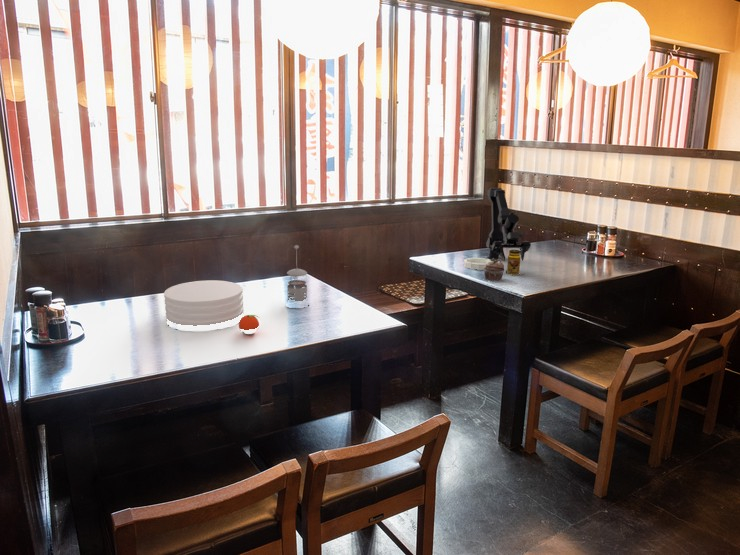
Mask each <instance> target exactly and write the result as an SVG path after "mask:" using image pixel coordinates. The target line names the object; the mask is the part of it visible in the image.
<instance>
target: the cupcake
mask: <svg viewBox="0 0 740 555" xmlns="http://www.w3.org/2000/svg"><path fill="white" fill-rule="evenodd" d="M483 271H484V279H485V278H486V280H487V279H488V280H487V281H494V280H497V281H501V280H502V279H503V277H504V276H503V275H504V273H503V272H504V271H505V265H504V263H503V262H502V258H500V259H494V258H493V259H490V262H489V263H487V264H486V267H485V268H484V270H483Z"/></svg>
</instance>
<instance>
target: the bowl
mask: <svg viewBox="0 0 740 555" xmlns="http://www.w3.org/2000/svg"><path fill="white" fill-rule="evenodd" d="M490 260H491V259H488V258H487V257H485V258H484V257H468V258H465V259H464V260H463V266H464V268H467V269H469V268H470V269H469V270H474V269H477V270H476V271H484V268H485V267H486V264H487V263H489V262H490Z"/></svg>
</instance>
